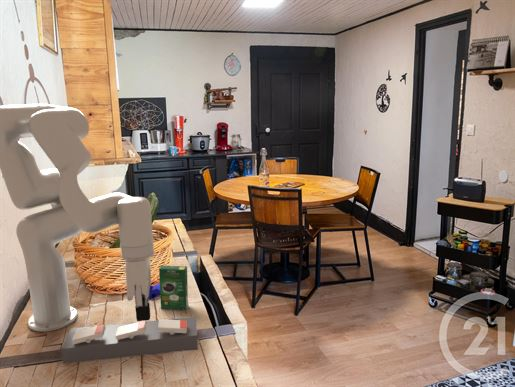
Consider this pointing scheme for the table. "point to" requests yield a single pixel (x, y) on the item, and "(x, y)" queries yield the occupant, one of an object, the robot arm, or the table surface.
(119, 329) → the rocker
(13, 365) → the table surface
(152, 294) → the blue piece
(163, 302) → the coffee box
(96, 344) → the rocker switch panel
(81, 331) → the rocker
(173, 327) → the rocker
